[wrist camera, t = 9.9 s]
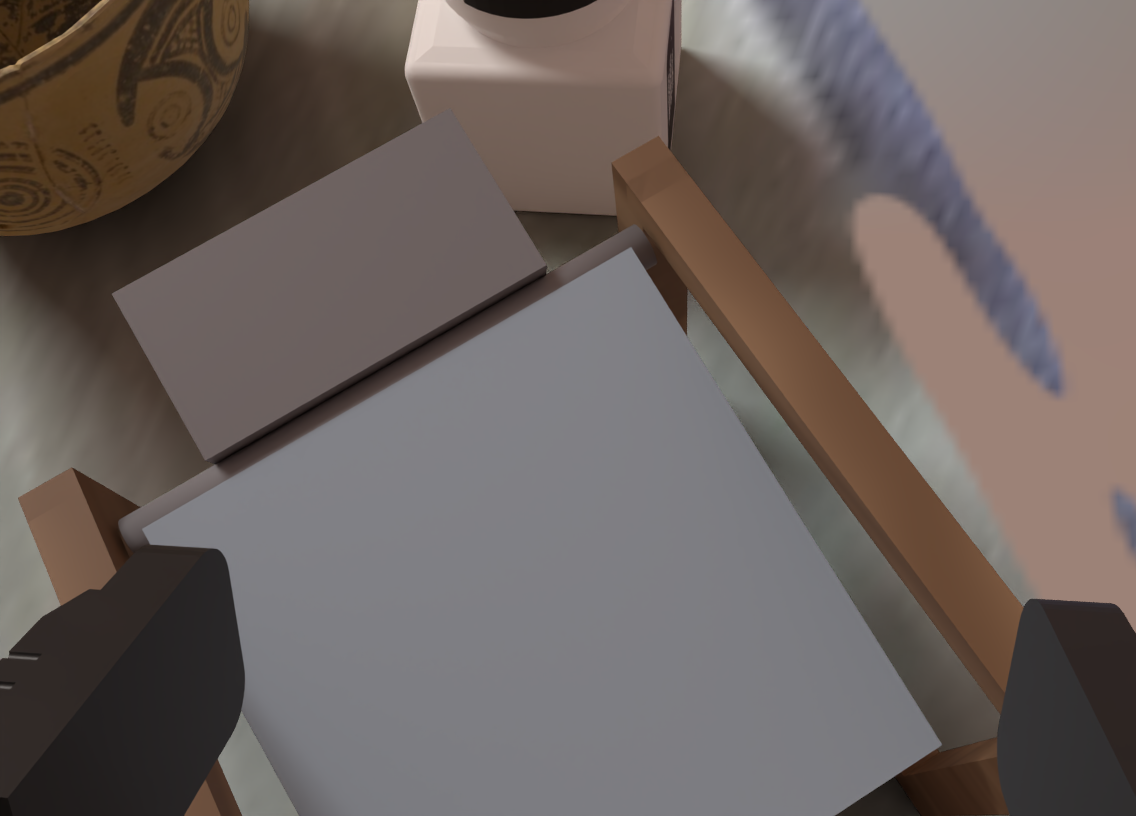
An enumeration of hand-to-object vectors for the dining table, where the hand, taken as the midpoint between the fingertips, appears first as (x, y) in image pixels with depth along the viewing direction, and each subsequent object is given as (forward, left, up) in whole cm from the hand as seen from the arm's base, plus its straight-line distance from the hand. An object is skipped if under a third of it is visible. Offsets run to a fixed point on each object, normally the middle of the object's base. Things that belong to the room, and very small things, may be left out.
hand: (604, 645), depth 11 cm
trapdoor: (-1, +5, -11) cm, 13 cm away
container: (+9, +20, -22) cm, 32 cm away
